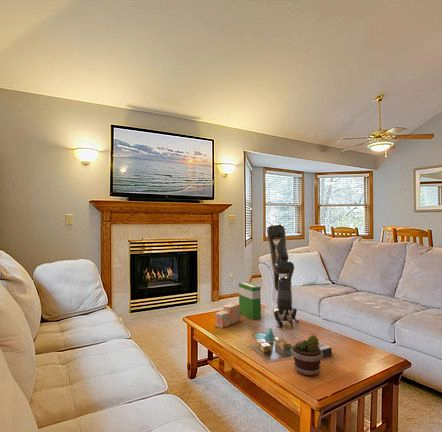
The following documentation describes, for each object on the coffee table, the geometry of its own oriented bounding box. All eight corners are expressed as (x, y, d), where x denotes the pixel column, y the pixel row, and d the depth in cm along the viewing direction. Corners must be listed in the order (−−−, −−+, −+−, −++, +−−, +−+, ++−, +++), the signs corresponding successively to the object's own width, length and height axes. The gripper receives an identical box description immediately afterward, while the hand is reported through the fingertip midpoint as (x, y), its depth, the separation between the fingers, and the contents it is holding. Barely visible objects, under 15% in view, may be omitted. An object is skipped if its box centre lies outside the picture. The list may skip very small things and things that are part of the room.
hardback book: (239, 313, 239) (238, 282, 239) (247, 311, 242) (246, 281, 242) (252, 319, 223) (252, 287, 223) (260, 318, 226) (260, 286, 226)
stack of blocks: (222, 328, 207) (222, 310, 207) (215, 326, 211) (215, 308, 211) (240, 320, 222) (240, 303, 222) (233, 318, 227) (233, 302, 227)
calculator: (310, 338, 179) (331, 346, 165) (311, 345, 179) (332, 354, 165) (296, 341, 174) (317, 350, 161) (297, 349, 174) (317, 358, 161)
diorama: (263, 331, 201) (263, 318, 201) (284, 343, 183) (284, 328, 183) (248, 335, 196) (248, 321, 196) (268, 347, 178) (268, 332, 178)
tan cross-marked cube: (286, 326, 170) (286, 320, 170) (291, 329, 166) (291, 323, 166) (279, 327, 169) (279, 321, 169) (283, 330, 165) (283, 324, 165)
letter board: (284, 342, 183) (284, 335, 183) (304, 356, 164) (304, 349, 164) (251, 346, 178) (250, 339, 178) (267, 362, 158) (267, 354, 158)
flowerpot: (285, 370, 149) (284, 330, 149) (302, 361, 159) (301, 323, 159) (312, 383, 138) (311, 339, 138) (329, 372, 147) (328, 331, 147)
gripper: (276, 299, 162) (277, 331, 162) (300, 297, 165) (300, 328, 165) (269, 296, 169) (270, 326, 169) (292, 294, 173) (292, 324, 173)
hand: (285, 327), depth 167 cm, fingers closed on tan cross-marked cube, 4 cm apart
